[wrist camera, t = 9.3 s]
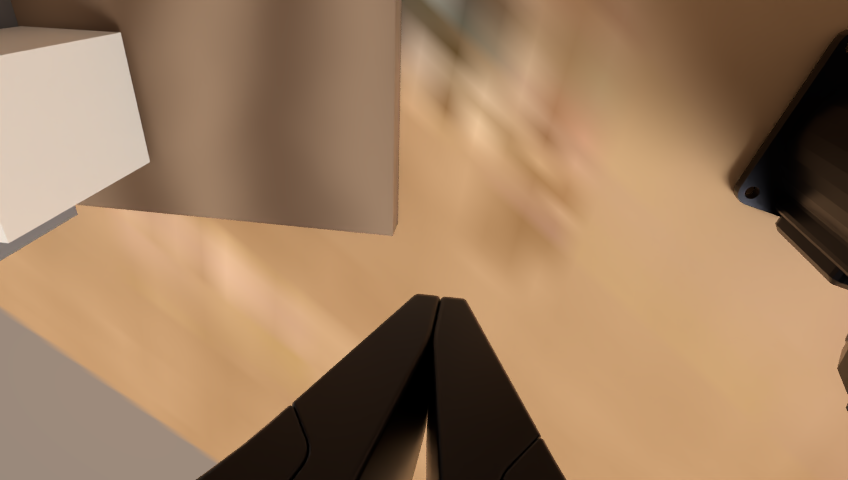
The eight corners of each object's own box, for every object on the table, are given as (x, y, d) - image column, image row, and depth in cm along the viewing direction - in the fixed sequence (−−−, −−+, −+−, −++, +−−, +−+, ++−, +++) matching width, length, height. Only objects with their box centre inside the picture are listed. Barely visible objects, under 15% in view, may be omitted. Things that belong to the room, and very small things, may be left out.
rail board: (402, -33, 18) (395, -33, 17) (397, 223, 23) (392, 235, 22) (-120, -58, 20) (-155, -59, 19) (-23, 182, 25) (-46, 192, 24)
